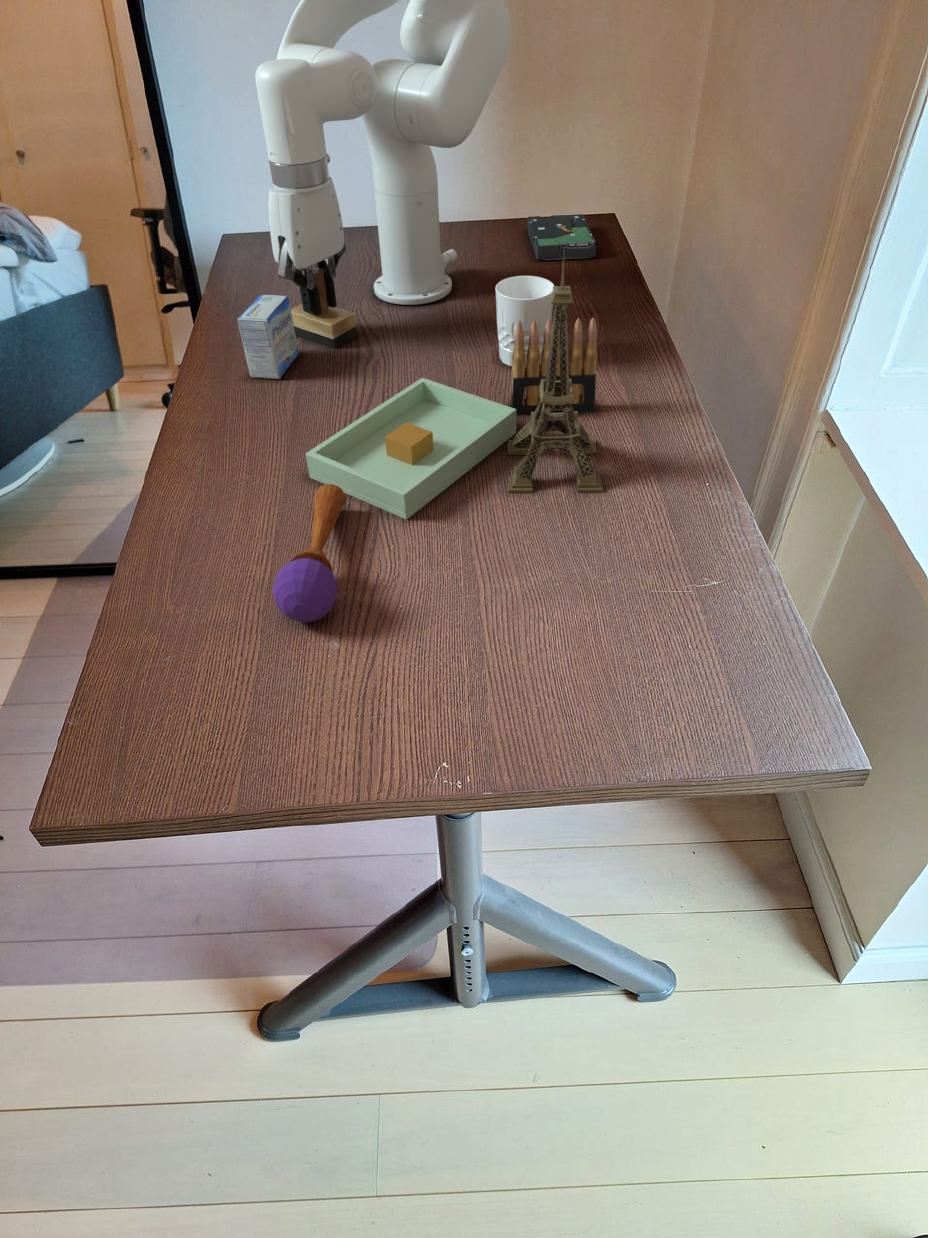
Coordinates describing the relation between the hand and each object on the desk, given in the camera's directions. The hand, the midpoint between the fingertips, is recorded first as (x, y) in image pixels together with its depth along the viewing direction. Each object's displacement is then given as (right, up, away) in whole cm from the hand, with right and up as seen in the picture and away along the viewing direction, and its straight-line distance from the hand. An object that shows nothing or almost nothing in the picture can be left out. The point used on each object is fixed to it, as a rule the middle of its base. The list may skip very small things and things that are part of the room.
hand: (320, 307), depth 124 cm
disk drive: (+38, +21, +27) cm, 51 cm away
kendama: (+6, -40, -37) cm, 55 cm away
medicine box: (-6, -10, -4) cm, 12 cm away
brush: (0, -3, +3) cm, 4 cm away
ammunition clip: (+32, -19, -15) cm, 40 cm away
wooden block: (+15, -26, -23) cm, 37 cm away
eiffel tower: (+31, -28, -24) cm, 48 cm away
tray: (+15, -26, -22) cm, 37 cm away
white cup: (+29, -9, -4) cm, 31 cm away
